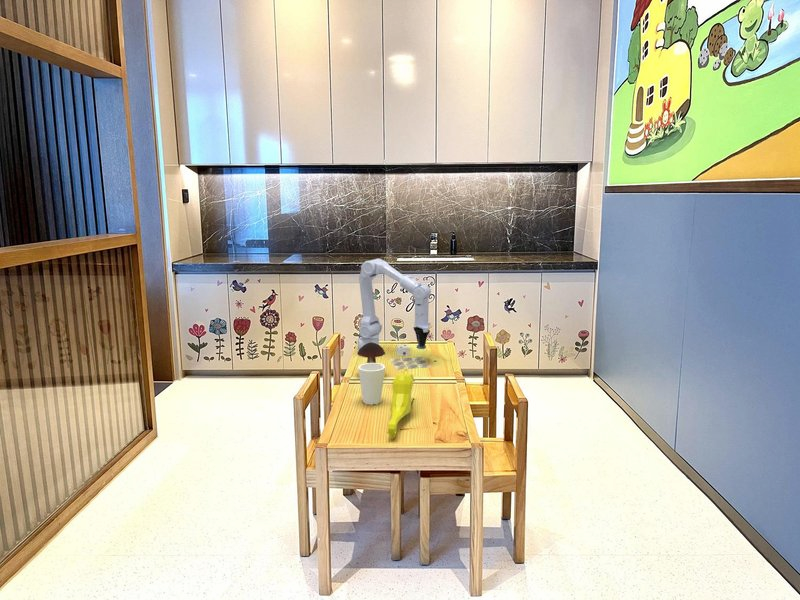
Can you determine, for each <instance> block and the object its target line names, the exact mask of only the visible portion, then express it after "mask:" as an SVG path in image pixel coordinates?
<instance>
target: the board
mask: <svg viewBox="0 0 800 600" xmlns="http://www.w3.org/2000/svg"><path fill="white" fill-rule="evenodd" d="M389 361H390V362H391V363H392V365H393V366H394V368H395V369H396V370H404V369H405V368H407V370H410V369H411V370H412V369H425V368H432V366H431V365H430V364H429V363H428V362H427V361H426V360H425V359H424V358H423V356H417V357H416V356H415V357H401V358H400V357H399V358H390V359H389Z"/></svg>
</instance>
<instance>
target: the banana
mask: <svg viewBox="0 0 800 600" xmlns="http://www.w3.org/2000/svg"><path fill="white" fill-rule="evenodd" d="M407 368H408V367H407ZM407 368H405V369H403V370H402V372H400V373H398V374H397V375H396V376H395V377H394V378H393V380H392V381H393V382H392V399H391V403H390V413H391V417H390V420H389V422H388V425H387V431H386V434H388V435H389V438H390V439H391V438H394V439H395V438H396V435H397V433H398V430H397V429H398V423H399V421H401V420H402V419H403V418H404V417H406V416H407V415H409V413H411V409H412V402H413V401H414V400H415V397H412V390H413V386H414V385H413V384H414V383H415V382H416V379H415V378H414V375H413V374H411V373H410V374H408V373H406V372H407V371H408V369H407ZM413 399H414V400H413Z"/></svg>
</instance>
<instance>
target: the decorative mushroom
mask: <svg viewBox="0 0 800 600" xmlns="http://www.w3.org/2000/svg"><path fill="white" fill-rule="evenodd" d="M356 354H357V355H358V356H359V355H360V356H361V357H362V358H367V360H366V363H377V360H376V358H379V357H382V356H385V355H386V351H385V350H384V348H383V347H382V346H381V345H380V344H379V345H378V344H376V343H372V342H370V343H367V344H365V345H364V346H362V347H361V348H360V349H359V351H358V350H357V353H356ZM360 356H359V357H360Z"/></svg>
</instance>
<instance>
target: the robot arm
mask: <svg viewBox="0 0 800 600" xmlns="http://www.w3.org/2000/svg"><path fill="white" fill-rule="evenodd" d="M378 275H386V276H388V277H389V278H390V279H393V280H394V281H397V282H398V283H399V286H400V288H402V289H404V290H405V291H407V292H408V293H410V294H412V297H413V298H414V327H413V330H414V333H415V336H416V341H417V343H418V337H419V344H420V346H425V345H426V343H427V338H428V337H429V334H430V332H431V330H430V329H429V327H430V326H431V325H432V323H431V322H429V306H430V305H429V303H430V302H429V298H430V296H431V294H432V289H431V287H430V286H429V285H428V284H426V283H422V282H420V281H417V280H416V279H414V278H413V276H412V275H407V274H406V275H404V274H403V273H401V272H399V271H398V270H397V269H395V268H394V267H393V266H392V265H390V264H388V262H387V261H385V260H383V259H382V258H378V257H377V258H374V259H371V260H366V261H365V262H363V263H362V264H361V265H360V273H359V276H358V281H359V288H360V289H359V290H360V291H359V292H360V299H361V300H360V301H361V308H362V309H361V310H362V318H361V320H360V322H359V323H360V326H359V330H358V331H359V335H360V337H358V338H357V352H358V351H359V349H360V348H361V347H362V346H364V345H365V344H367V343H370V342H372V343H376V344H378V345H380V341H379V340H380V339H379V338H380V334H381V332H382V324H381V323H380V319H379V317H378V316H377V314H376V309H375V308H376V307H375V299H374V298H375V297H374V289H373V288H374V287H373V280H374V279H375V278H376V276H378ZM358 356H359V357H362V356H360V355H358Z"/></svg>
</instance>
